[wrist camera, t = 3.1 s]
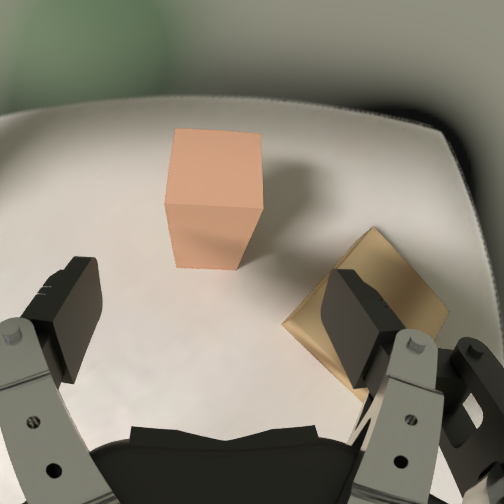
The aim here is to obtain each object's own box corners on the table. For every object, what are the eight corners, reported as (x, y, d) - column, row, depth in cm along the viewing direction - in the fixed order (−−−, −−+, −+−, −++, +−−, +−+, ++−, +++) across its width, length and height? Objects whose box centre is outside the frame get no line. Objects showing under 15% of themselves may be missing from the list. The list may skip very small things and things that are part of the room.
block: (176, 267, 21) (164, 203, 12) (180, 213, 22) (175, 128, 14) (236, 270, 21) (263, 208, 13) (236, 215, 23) (260, 133, 14)
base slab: (279, 325, 21) (292, 319, 18) (354, 241, 24) (373, 226, 21) (365, 407, 20) (387, 411, 17) (426, 318, 23) (449, 311, 20)
